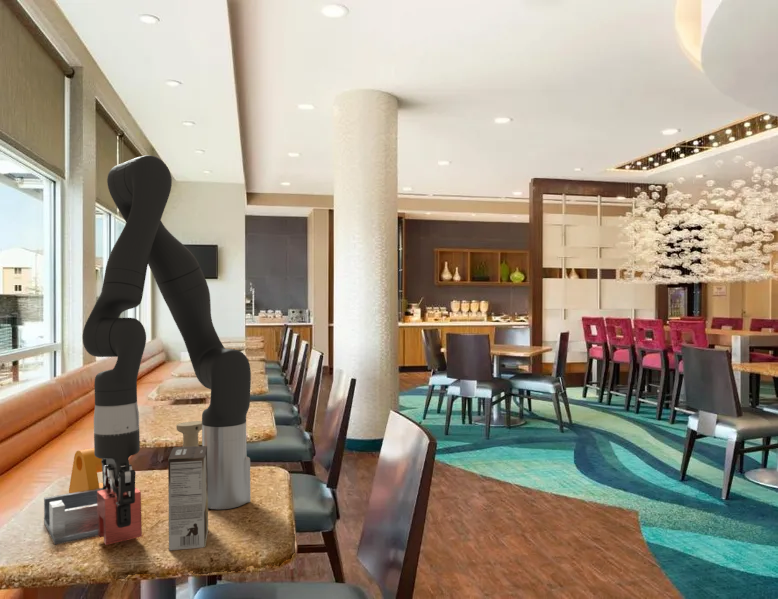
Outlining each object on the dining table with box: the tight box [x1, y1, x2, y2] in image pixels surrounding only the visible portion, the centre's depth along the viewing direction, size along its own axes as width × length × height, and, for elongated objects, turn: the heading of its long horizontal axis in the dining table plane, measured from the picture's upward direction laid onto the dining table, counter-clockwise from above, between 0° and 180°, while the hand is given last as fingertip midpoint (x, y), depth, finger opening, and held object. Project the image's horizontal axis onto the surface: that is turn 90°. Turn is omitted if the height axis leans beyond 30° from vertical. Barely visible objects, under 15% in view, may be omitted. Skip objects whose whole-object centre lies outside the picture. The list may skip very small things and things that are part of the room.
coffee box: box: [167, 445, 209, 551], centre depth 113 cm, size 9×6×16 cm
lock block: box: [97, 487, 143, 546], centre depth 112 cm, size 6×6×8 cm
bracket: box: [68, 447, 103, 494], centre depth 135 cm, size 11×7×12 cm, turn 49°
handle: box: [175, 420, 202, 447], centre depth 145 cm, size 5×6×15 cm
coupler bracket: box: [43, 488, 103, 546], centre depth 120 cm, size 12×14×6 cm
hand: (119, 520), depth 112 cm, fingers closed on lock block, 6 cm apart
